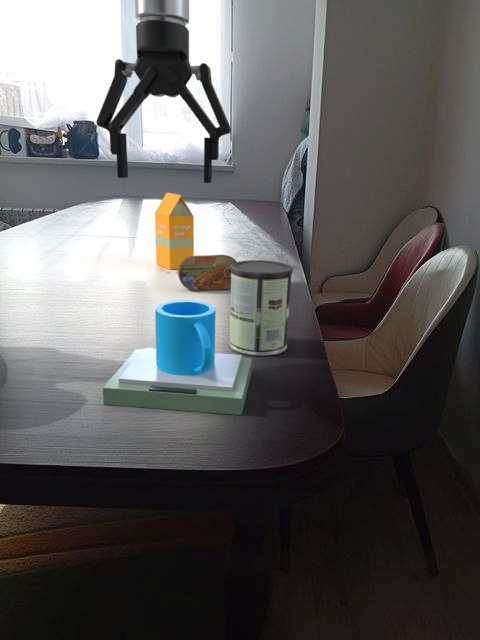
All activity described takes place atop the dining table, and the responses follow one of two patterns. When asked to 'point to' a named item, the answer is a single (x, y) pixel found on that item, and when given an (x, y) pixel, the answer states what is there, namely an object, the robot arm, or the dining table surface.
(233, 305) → the coffee can
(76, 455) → the dining table surface
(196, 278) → the tin
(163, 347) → the mug
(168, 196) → the orange juice
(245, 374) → the scale
